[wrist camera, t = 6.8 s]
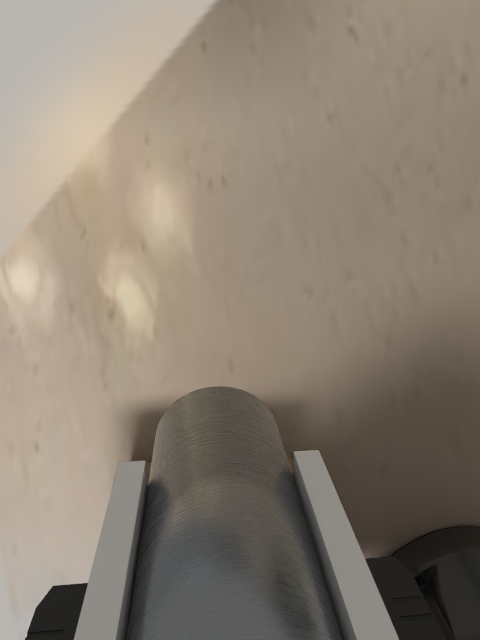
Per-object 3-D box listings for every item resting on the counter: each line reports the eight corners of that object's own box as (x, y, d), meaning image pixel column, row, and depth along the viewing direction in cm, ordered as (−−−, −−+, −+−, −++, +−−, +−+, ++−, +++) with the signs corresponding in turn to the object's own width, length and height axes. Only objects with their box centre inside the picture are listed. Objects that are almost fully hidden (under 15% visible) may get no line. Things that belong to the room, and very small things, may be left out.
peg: (280, 383, 16) (722, 1551, 3) (277, 488, 17) (549, 1576, 4) (150, 389, 15) (-128, 1793, 2) (159, 496, 17) (24, 1726, 4)
